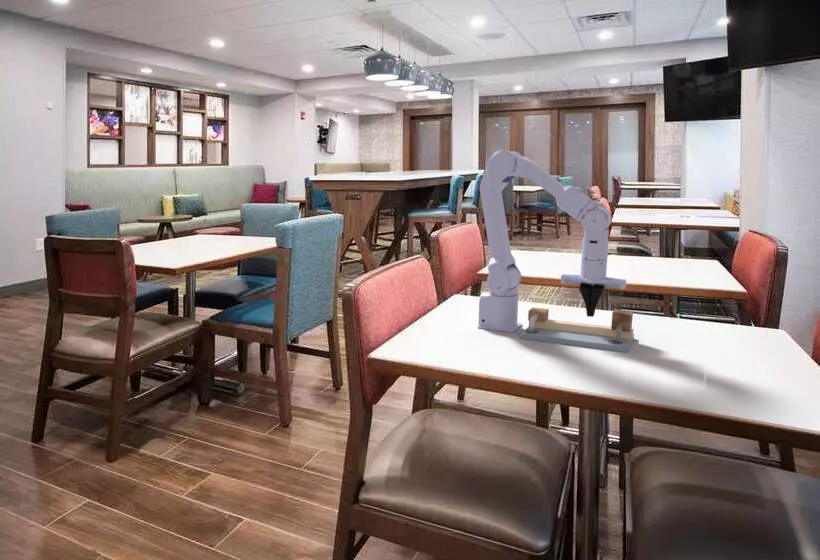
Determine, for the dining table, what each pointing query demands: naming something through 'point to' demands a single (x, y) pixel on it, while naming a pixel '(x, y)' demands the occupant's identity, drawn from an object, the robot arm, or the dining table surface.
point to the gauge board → (574, 332)
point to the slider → (621, 322)
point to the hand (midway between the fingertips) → (590, 315)
